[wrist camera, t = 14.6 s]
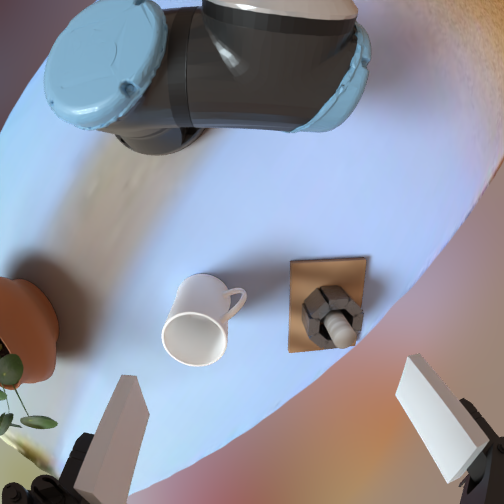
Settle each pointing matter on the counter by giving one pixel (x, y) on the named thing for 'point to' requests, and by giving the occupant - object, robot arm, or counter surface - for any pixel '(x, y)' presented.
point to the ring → (321, 305)
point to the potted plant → (25, 343)
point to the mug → (200, 320)
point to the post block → (313, 276)
